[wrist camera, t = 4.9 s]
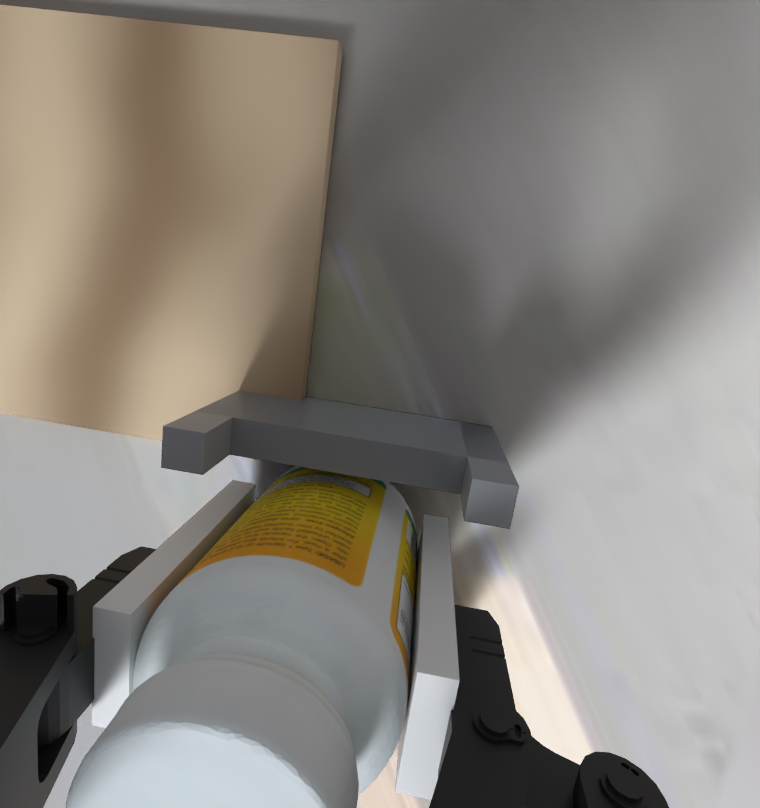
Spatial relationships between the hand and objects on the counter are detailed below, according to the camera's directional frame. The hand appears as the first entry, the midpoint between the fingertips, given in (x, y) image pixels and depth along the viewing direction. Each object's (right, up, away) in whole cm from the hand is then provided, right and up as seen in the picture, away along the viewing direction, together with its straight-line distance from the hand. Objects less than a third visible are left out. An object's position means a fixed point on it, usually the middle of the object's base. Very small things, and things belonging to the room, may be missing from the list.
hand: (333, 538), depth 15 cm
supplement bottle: (0, 0, +1) cm, 1 cm away
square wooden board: (-6, +9, 0) cm, 11 cm away
